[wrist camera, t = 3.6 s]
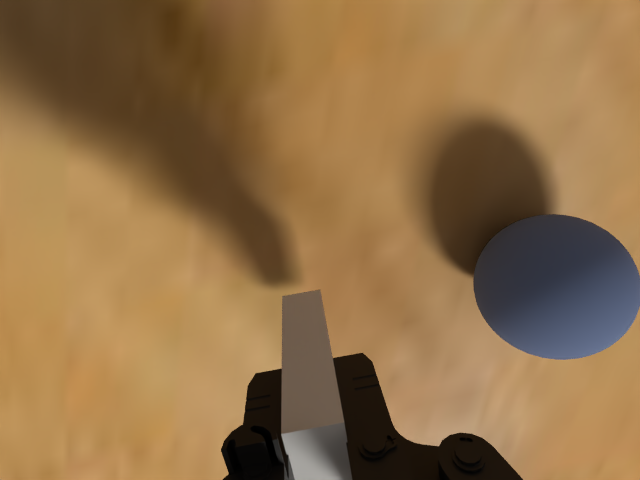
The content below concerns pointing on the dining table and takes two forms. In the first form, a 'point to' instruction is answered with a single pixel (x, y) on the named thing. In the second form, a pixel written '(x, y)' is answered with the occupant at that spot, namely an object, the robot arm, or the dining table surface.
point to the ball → (557, 286)
